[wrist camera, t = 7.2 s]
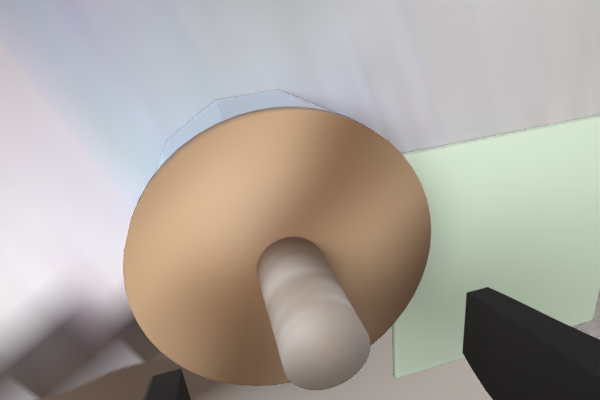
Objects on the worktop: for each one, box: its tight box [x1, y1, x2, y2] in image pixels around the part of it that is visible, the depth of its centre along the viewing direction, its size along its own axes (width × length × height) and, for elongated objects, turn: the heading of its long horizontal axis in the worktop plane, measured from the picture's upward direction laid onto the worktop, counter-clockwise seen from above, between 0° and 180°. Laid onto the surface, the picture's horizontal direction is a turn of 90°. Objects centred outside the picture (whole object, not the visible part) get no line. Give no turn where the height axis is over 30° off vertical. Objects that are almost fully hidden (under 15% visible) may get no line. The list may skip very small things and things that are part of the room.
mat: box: [392, 115, 600, 378], centre depth 24 cm, size 14×14×1 cm
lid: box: [123, 106, 431, 390], centre depth 13 cm, size 11×11×5 cm
